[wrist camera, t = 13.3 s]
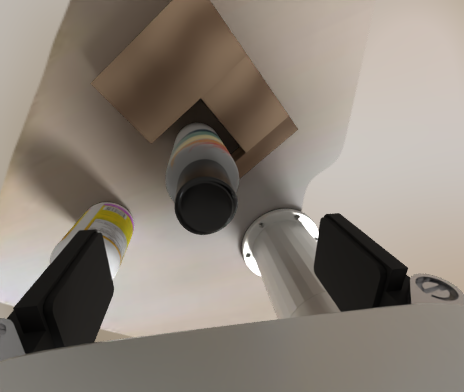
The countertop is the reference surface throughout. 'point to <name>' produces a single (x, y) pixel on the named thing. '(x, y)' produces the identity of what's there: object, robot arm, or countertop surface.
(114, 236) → the supplement bottle
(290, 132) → the notched wooden block
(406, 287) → the robot arm
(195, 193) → the lotion bottle
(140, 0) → the countertop surface
